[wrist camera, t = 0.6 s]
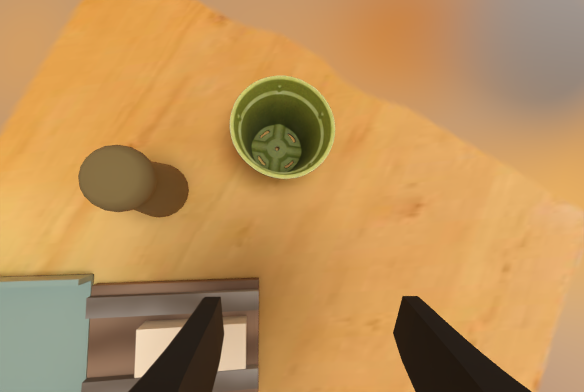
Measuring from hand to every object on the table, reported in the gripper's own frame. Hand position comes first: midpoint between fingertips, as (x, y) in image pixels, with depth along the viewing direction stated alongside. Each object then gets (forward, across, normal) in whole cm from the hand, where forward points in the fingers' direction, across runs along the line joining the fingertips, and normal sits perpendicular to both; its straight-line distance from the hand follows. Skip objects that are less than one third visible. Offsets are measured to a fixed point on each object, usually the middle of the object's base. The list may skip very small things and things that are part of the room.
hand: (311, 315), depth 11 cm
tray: (+12, +27, +17) cm, 34 cm away
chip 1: (+12, +13, +17) cm, 25 cm away
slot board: (+13, +12, +18) cm, 25 cm away
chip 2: (+13, +7, +17) cm, 22 cm away
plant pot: (+24, +2, 0) cm, 24 cm away
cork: (+21, +15, +4) cm, 26 cm away
